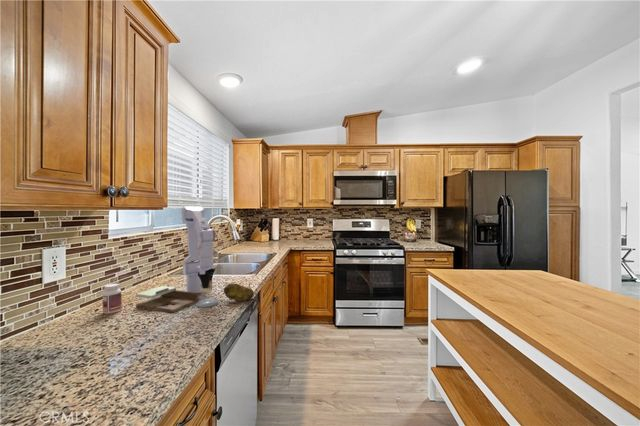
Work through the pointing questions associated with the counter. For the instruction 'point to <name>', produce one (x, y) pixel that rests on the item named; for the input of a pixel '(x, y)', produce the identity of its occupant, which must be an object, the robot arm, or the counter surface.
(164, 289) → the cover
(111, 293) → the pill bottle
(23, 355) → the counter surface
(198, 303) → the saucer
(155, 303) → the board
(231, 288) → the potato
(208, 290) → the block
